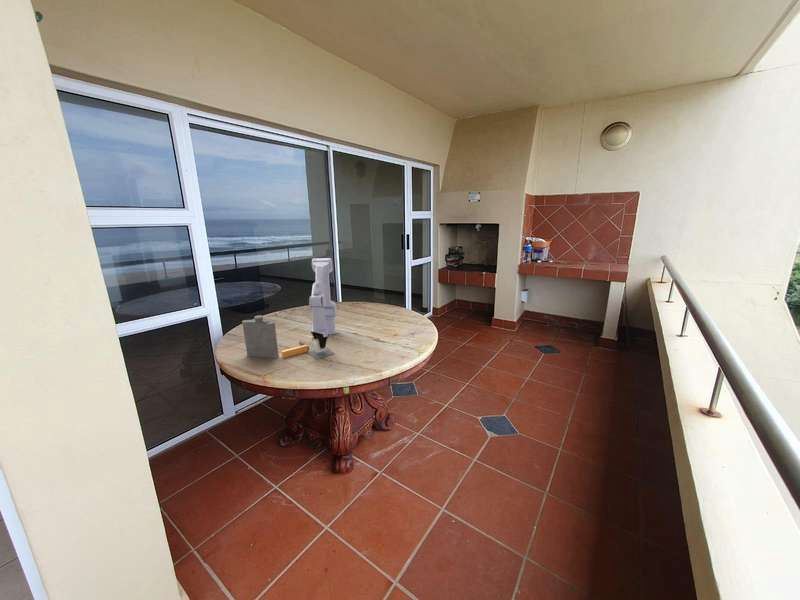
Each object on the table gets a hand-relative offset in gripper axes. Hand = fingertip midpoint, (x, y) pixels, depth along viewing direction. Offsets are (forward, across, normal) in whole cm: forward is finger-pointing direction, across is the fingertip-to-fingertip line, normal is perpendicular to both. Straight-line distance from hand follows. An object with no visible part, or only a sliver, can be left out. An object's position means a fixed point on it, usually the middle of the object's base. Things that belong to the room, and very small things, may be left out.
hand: (320, 346), depth 155 cm
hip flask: (+4, -15, -23) cm, 28 cm away
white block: (+2, 0, 0) cm, 2 cm away
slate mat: (+4, 0, 0) cm, 4 cm away
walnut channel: (+4, -13, 0) cm, 14 cm away
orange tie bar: (+4, -7, -10) cm, 13 cm away
